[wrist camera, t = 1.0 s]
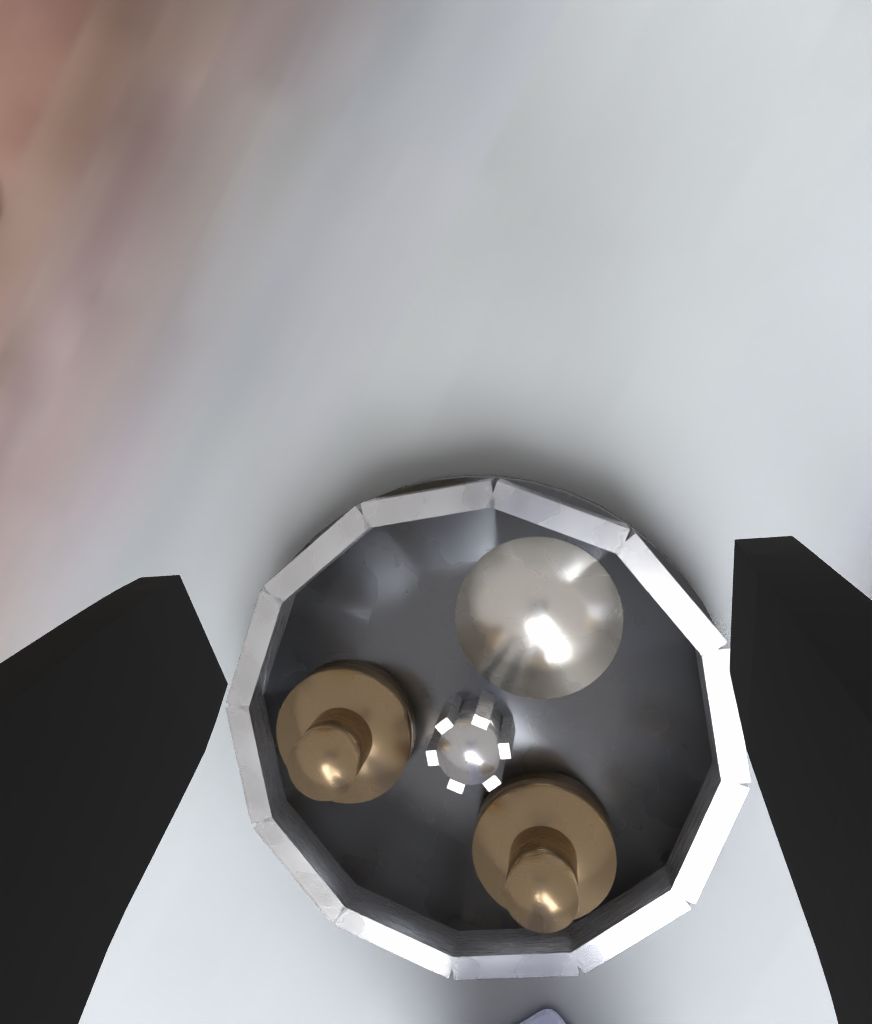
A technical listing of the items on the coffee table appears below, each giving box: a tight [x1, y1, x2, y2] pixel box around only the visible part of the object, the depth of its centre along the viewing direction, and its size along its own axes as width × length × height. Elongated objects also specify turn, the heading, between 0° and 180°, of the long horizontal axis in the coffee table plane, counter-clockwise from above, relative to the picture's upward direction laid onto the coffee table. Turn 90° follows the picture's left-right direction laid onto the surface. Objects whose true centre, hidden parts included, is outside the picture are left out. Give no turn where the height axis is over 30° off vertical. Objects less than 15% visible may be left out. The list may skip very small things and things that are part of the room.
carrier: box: [226, 475, 750, 980], centre depth 27 cm, size 21×21×5 cm
